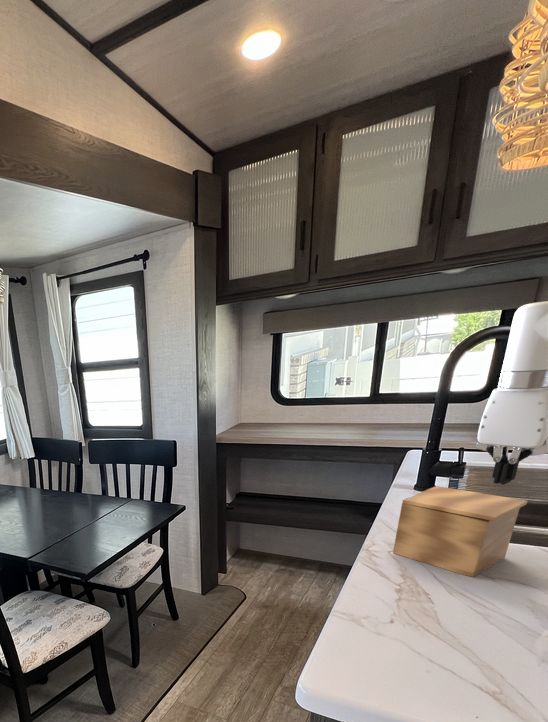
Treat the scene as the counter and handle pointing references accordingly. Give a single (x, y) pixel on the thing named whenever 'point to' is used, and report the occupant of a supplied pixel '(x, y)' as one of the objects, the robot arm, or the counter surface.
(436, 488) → the lid
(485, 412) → the robot arm
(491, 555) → the chest
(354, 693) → the counter surface
